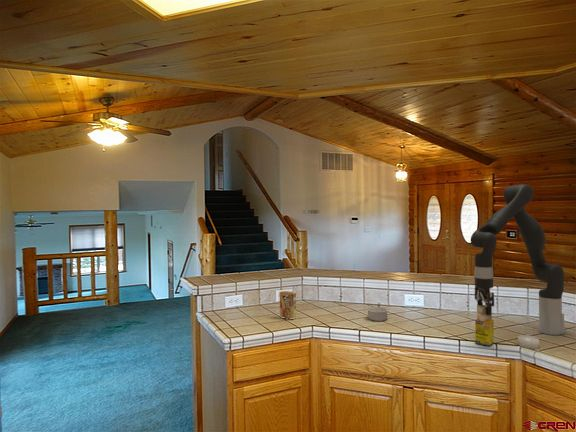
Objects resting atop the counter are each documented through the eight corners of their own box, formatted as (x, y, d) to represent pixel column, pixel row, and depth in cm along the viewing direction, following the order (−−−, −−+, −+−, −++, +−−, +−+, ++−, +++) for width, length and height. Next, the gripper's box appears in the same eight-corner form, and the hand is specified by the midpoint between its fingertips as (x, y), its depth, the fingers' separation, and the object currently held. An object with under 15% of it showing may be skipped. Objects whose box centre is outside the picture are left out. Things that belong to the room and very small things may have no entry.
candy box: (296, 318, 220) (296, 291, 220) (294, 320, 217) (293, 293, 216) (282, 316, 224) (282, 290, 224) (279, 318, 220) (279, 292, 220)
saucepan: (389, 313, 228) (389, 303, 228) (387, 322, 209) (387, 312, 209) (369, 312, 231) (369, 302, 231) (366, 321, 212) (366, 311, 212)
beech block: (487, 318, 176) (486, 305, 176) (491, 321, 171) (491, 307, 171) (476, 318, 176) (476, 305, 176) (481, 321, 171) (481, 307, 171)
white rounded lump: (532, 342, 174) (532, 335, 174) (543, 349, 166) (543, 341, 166) (514, 342, 175) (514, 335, 175) (524, 349, 167) (523, 340, 167)
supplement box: (475, 344, 174) (474, 319, 174) (480, 340, 178) (479, 317, 178) (489, 347, 170) (489, 322, 169) (494, 343, 174) (493, 319, 174)
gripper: (500, 279, 166) (500, 316, 166) (485, 273, 180) (485, 308, 180) (482, 279, 166) (482, 317, 167) (468, 274, 181) (469, 308, 181)
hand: (484, 312), depth 174 cm, fingers open, 8 cm apart
